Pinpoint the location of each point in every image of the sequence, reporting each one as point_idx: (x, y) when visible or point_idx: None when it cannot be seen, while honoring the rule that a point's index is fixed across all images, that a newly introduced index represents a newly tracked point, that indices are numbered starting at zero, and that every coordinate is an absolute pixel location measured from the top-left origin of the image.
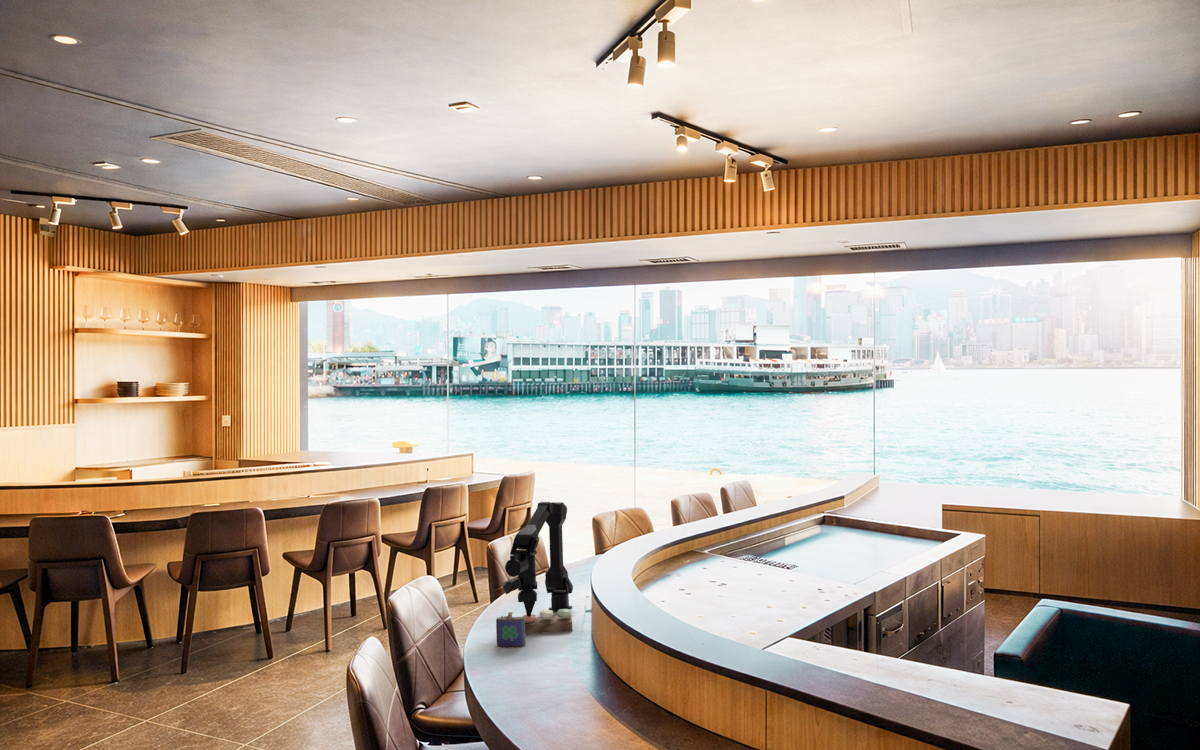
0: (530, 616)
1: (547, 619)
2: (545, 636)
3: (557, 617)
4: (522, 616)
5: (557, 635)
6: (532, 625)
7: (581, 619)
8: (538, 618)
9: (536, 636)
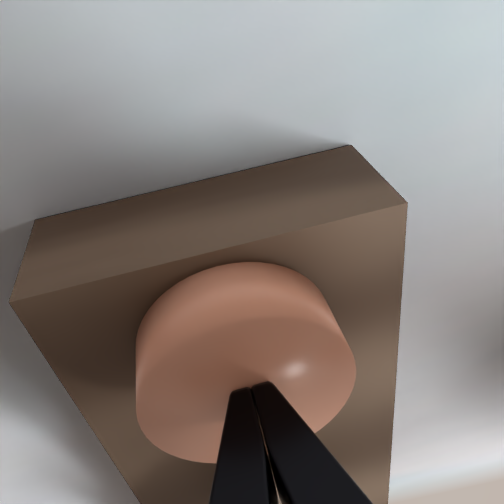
0: None
1: None
2: (29, 437)
3: None
4: (235, 324)
5: (79, 490)
6: (84, 403)
7: (440, 482)
8: None
9: (6, 379)
